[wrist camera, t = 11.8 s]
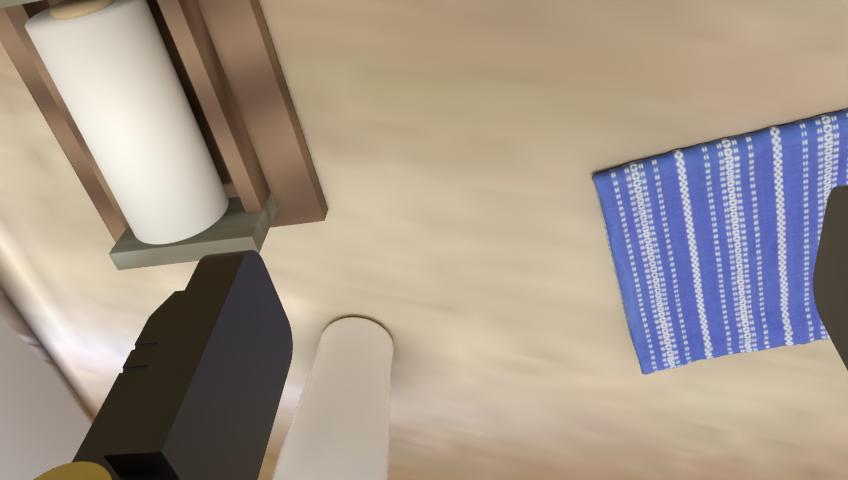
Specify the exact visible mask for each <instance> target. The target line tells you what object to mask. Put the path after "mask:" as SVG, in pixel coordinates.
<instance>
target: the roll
mask: <svg viewBox="0 0 848 480" xmlns="http://www.w3.org/2000/svg"><path fill="white" fill-rule="evenodd" d="M25 28H26V30H27V32H28V34H29V36H30V38H31V40H32V42H33V44H34V45H35V47H36V49H37V51H38V53H39V55H40V57H41V59H42V61H43V62H44V64H45V66H46V68H47V70H48V72H49V74H50V76H51V78H52V79H53V81H54V83H55V85H56V87H57V89H58V91H59V93H60V95H61V97H62V98H63V100H64V102H65V104H66V106H67V108H68V110H69V112H70V114H71V115H72V117H73V119H74V121H75V123H76V125H77V127H78V129H79V131H80V133H81V134H82V136H83V138H84V140H85V142H86V144H87V146H88V148H89V150H90V151H91V153H92V155H93V157H94V159H95V161H96V163H97V165H98V167H99V168H100V170H101V172H102V174H103V176H104V178H105V180H106V182H107V184H108V186H109V187H110V189H111V191H112V193H113V195H114V197H115V199H116V201H117V203H118V204H119V206H120V208H121V210H122V212H123V214H124V216H125V218H126V220H127V222H128V223H129V225H130V227H131V229H132V231H133V233H134V235H135V237H136V238H137V239H138V240H140V241H142V242H144V243H148V244H167V243H173V242H177V241H181V240H184V239H187V238H189V237H192V236H194V235H196V234H199V233H200V232H202V231H204V230H206V229H207V228H209V227H210V226H212V225H213V224H214V223H216V222H217V221H218V220H219V219H220V218H221V217H222V216H223V214H224V213H225V212H226V210H227V208H228V205H229V199H228V196H227V194H226V191H225V189H224V186H223V184H222V182H221V179H220V177H219V174H218V172H217V170H216V167H215V165H214V162H213V160H212V157H211V155H210V153H209V150H208V148H207V145H206V143H205V140H204V138H203V136H202V133H201V131H200V128H199V126H198V124H197V121H196V119H195V116H194V114H193V111H192V109H191V107H190V104H189V102H188V99H187V97H186V95H185V92H184V90H183V87H182V85H181V82H180V80H179V78H178V75H177V73H176V70H175V68H174V66H173V63H172V61H171V58H170V56H169V53H168V51H167V49H166V46H165V44H164V41H163V39H162V36H161V34H160V32H159V29H158V27H157V24H156V22H155V20H154V17H153V15H152V12H151V10H150V7H149V5H148V3H147V0H64V1H62V2H60V3H58V4H56V5H54V6H52V7H49V8H47V9H45V10H43V11H41V12H39V13H38V14H36V15H34V16H33V17H31V18H30V19H29V20H28V21H27V22H26V23H25Z"/></svg>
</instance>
